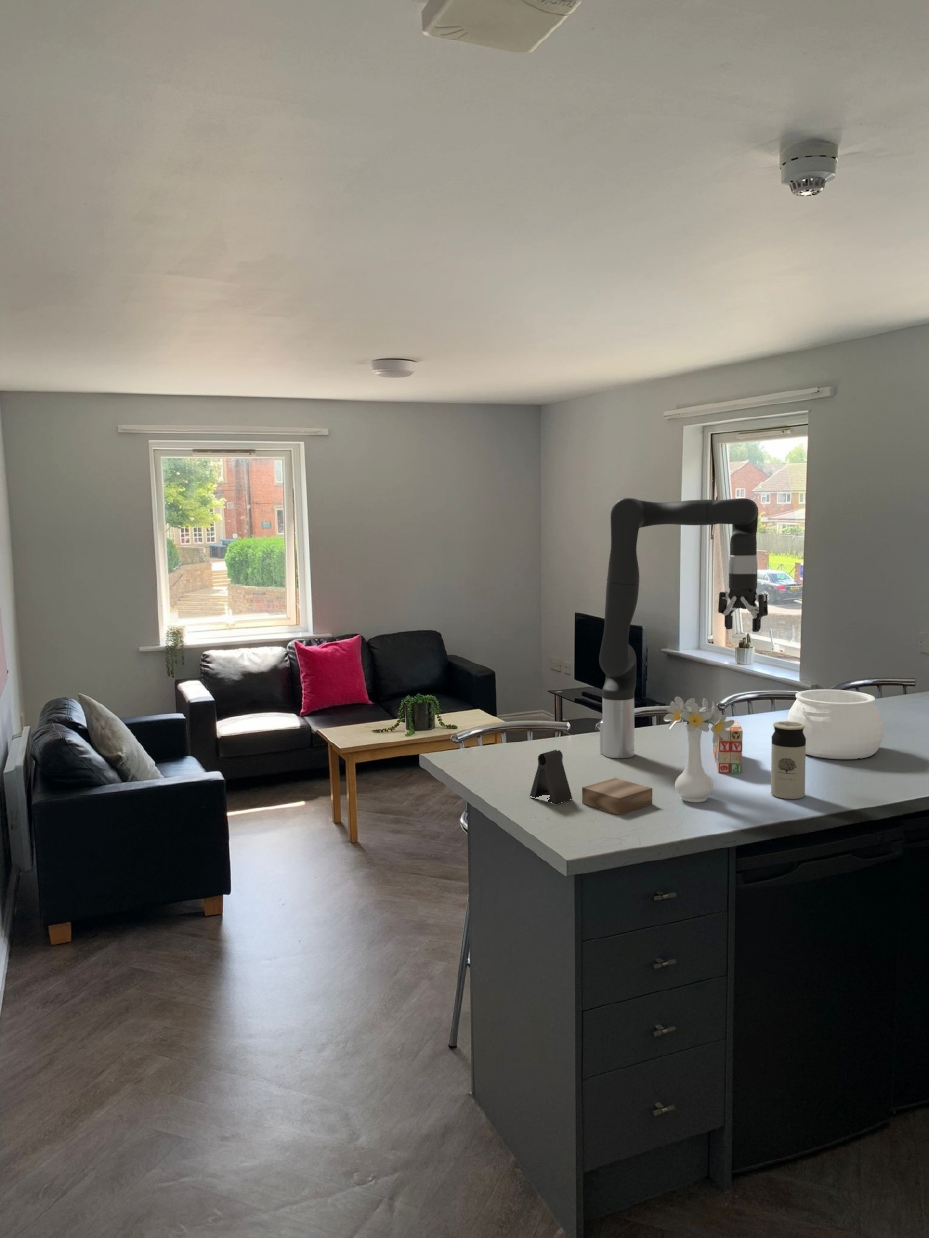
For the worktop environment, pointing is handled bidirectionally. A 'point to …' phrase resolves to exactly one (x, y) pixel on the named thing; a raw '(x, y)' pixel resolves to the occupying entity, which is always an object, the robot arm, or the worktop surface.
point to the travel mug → (788, 760)
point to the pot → (838, 723)
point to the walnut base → (617, 796)
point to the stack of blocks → (729, 750)
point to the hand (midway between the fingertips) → (742, 630)
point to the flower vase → (696, 745)
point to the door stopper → (551, 778)
